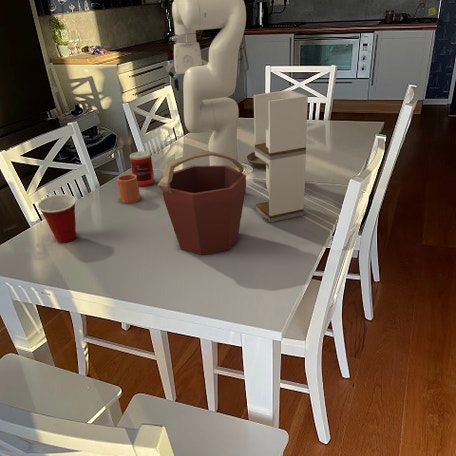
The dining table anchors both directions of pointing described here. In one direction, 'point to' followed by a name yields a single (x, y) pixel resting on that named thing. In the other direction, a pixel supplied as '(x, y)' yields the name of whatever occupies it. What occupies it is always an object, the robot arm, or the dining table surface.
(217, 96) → the robot arm
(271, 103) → the tall white stacked tower
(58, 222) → the plastic cup
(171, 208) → the bucket
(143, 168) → the canned food
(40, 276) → the dining table surface
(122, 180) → the pot
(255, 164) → the plant saucer
